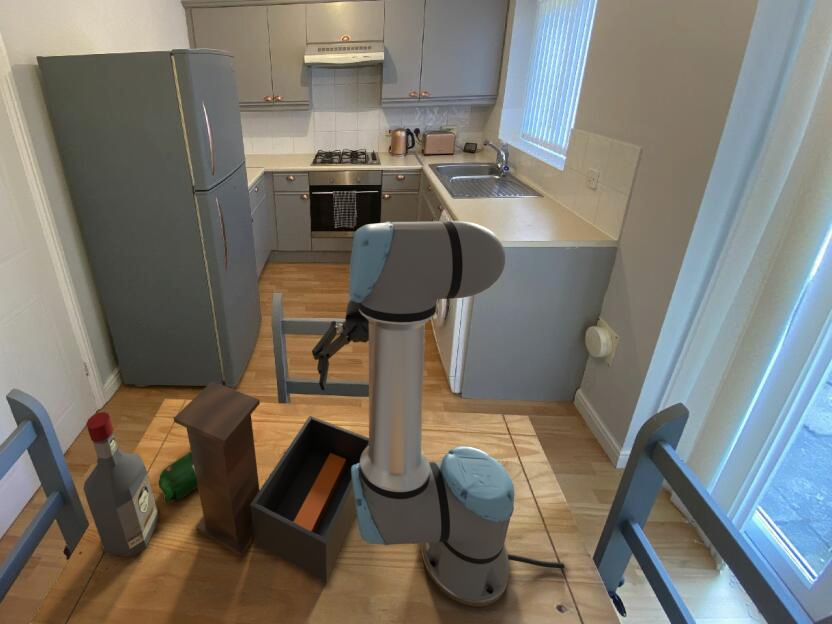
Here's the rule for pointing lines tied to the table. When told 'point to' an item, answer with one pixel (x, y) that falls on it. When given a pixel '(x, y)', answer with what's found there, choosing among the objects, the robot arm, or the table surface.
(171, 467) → the snack package
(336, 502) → the dark grey open box
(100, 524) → the liquor
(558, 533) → the table surface
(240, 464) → the wooden pedestal column
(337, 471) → the orange bar
